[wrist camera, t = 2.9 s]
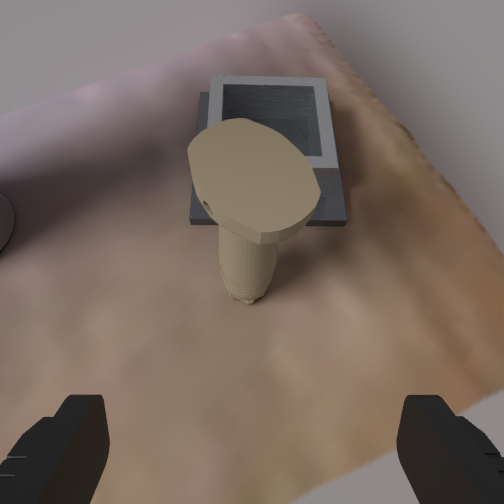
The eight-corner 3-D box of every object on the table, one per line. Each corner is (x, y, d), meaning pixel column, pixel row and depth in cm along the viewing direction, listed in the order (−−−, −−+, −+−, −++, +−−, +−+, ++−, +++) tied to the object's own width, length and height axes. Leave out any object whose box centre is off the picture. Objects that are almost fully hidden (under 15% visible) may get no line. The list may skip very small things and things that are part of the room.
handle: (245, 244, 30) (250, 104, 17) (293, 300, 28) (342, 191, 15) (200, 275, 29) (165, 149, 15) (246, 336, 27) (254, 252, 13)
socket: (191, 224, 31) (182, 191, 26) (201, 99, 38) (196, 57, 33) (344, 226, 31) (361, 194, 27) (326, 102, 38) (338, 60, 34)
